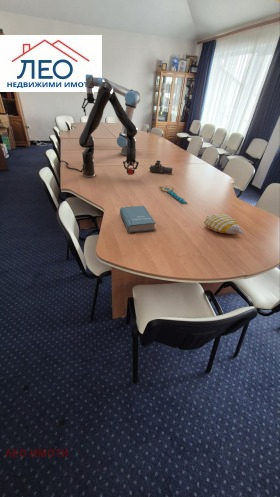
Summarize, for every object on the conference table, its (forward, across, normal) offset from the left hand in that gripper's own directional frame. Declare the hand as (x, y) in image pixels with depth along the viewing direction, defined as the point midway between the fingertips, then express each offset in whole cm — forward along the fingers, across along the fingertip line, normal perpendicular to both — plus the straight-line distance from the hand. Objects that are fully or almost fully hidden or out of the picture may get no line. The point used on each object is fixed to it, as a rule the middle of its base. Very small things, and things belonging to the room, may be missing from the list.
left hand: (130, 173), depth 192 cm
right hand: (-32, -41, +96) cm, 109 cm away
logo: (+7, +34, -29) cm, 45 cm away
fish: (+7, +54, -82) cm, 98 cm away
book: (+7, +1, -73) cm, 74 cm away
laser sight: (+6, +31, +25) cm, 40 cm away
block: (0, 0, 0) cm, 1 cm away
